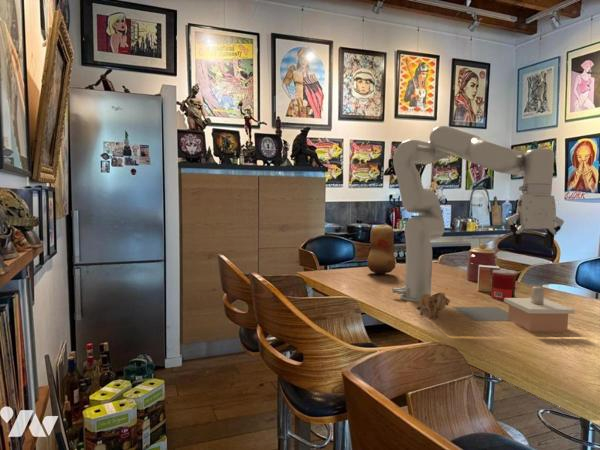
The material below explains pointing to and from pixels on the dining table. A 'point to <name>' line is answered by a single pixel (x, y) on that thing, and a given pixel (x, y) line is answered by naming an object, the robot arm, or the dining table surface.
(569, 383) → the dining table surface
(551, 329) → the pink square box
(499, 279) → the canned food
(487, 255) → the canister
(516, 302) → the lid
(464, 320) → the dining table surface
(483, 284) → the small box
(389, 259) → the butternut squash
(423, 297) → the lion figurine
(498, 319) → the mat
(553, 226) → the robot arm
